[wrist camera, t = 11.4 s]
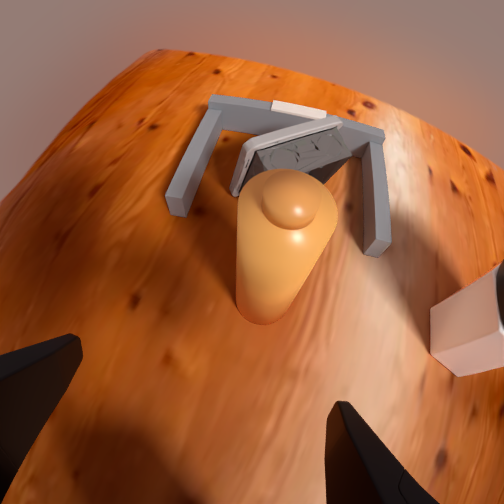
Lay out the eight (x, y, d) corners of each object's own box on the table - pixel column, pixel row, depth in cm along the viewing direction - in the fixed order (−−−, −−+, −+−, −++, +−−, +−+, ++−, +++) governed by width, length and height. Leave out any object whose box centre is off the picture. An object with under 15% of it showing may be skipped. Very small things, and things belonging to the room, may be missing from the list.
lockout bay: (378, 257, 27) (398, 235, 23) (170, 214, 27) (162, 186, 24) (372, 152, 33) (384, 127, 29) (213, 119, 34) (212, 91, 30)
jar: (491, 324, 24) (569, 282, 13) (468, 388, 21) (561, 366, 10) (441, 278, 26) (518, 217, 15) (412, 343, 23) (507, 300, 12)
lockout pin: (295, 318, 24) (361, 229, 11) (242, 330, 23) (252, 249, 10) (281, 269, 26) (322, 150, 13) (230, 279, 25) (228, 160, 12)
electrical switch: (304, 163, 31) (328, 101, 23) (330, 199, 30) (365, 142, 21) (227, 192, 29) (231, 126, 20) (252, 235, 28) (266, 176, 19)
